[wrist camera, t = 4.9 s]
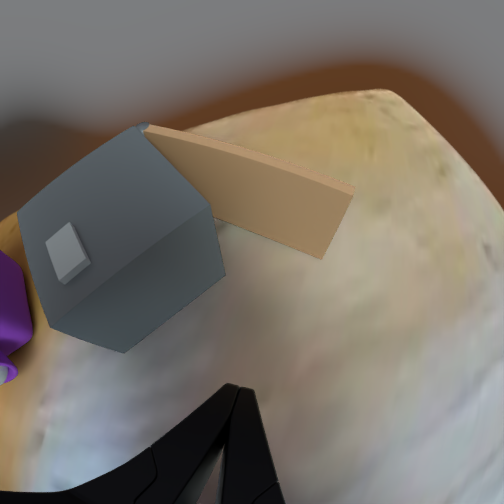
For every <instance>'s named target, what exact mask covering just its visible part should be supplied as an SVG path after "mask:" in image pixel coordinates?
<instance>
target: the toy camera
mask: <svg viewBox="0 0 504 504" xmlns="http://www.w3.org/2000/svg"><path fill="white" fill-rule="evenodd" d="M32 335H33V328H32V322H31V317H30V312H29V306H28V301H27V295H26V289H25V283H24V277H23V272H22V269H21V267H20V266H19V265H18V264H17V263H16V262H15V261H14V260H12V259H11V258H10V257H8V256H7V255H6V254H4V253H3V252H2V251H1V250H0V385H2V384H3V383H6V382H8V381H11V380H12V379H14V378H15V377H16V376H17V374H18V370H17V368H16V366H15V365H14V364H13V363H12V361H11V360H10V359H9V358H8V357H7V356H8V355H9V354H11V353H12V352H14V351H15V350H17V349H18V348H20V347H21V346H23V345H24V344H25V343H27V342H28V341H29V340H30V339H31V337H32Z"/></svg>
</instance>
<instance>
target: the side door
mask: <svg viewBox="0 0 504 504" xmlns="http://www.w3.org/2000/svg"><path fill="white" fill-rule="evenodd" d="M136 128H137V129H138V130H139V131H140V133H141V134H142V135H143V136H144V137H145V138H146V139H147V140H148V141H149V142H150V143H151V144H152V145H153V146H154V147H155V148H156V149H157V150H158V151H159V152H160V153H161V154H162V155H163V156H164V157H165V158H166V159H167V160H168V161H169V162H170V163H171V164H172V165H173V166H174V168H175V169H176V170H177V171H178V172H179V173H180V174H181V175H182V176H183V177H184V178H185V179H186V180H187V181H188V182H189V183H190V184H191V185H192V186H193V187H194V188H195V189H196V190H197V191H198V192H199V193H200V194H201V195H202V196H203V197H204V198H205V200H206V201H207V202H208V203H209V204H210V205H211V210H212V215H213V217H215V218H218V219H220V220H223V221H226V222H228V223H231V224H233V225H236V226H239V227H241V228H244V229H246V230H249V231H251V232H254V233H257V234H259V235H262V236H264V237H267V238H269V239H272V240H274V241H277V242H279V243H282V244H284V245H287V246H289V247H292V248H294V249H297V250H299V251H302V252H304V253H307V254H309V255H312V256H314V257H317V258H319V259H322V258H323V256H324V254H325V252H326V251H327V249H328V247H329V245H330V243H331V241H332V239H333V237H334V235H335V233H336V231H337V229H338V227H339V225H340V223H341V221H342V218H343V216H344V214H345V212H346V210H347V208H348V206H349V204H350V202H351V200H352V198H353V195H354V191H355V188H356V187H355V186H352V185H350V184H347V183H345V182H342V181H340V180H337V179H335V178H332V177H329V176H327V175H324V174H321V173H319V172H316V171H313V170H311V169H308V168H305V167H302V166H299V165H296V164H293V163H291V162H288V161H285V160H282V159H279V158H276V157H272V156H269V155H266V154H263V153H260V152H257V151H253V150H250V149H247V148H243V147H240V146H236V145H233V144H229V143H226V142H222V141H218V140H214V139H211V138H207V137H203V136H199V135H195V134H191V133H186V132H182V131H178V130H173V129H169V128H164V127H159V126H155V125H150V124H149V123H148V122H142V123H139V124H138V125H137V126H136Z"/></svg>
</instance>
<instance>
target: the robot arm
mask: <svg viewBox="0 0 504 504" xmlns="http://www.w3.org/2000/svg"><path fill="white" fill-rule="evenodd" d="M223 447H224V449H223ZM222 449H223V454H222V461H221V467H220V474H219V481H218V488H217V494H216V501H215V504H286V503H285V500H284V497H283V494H282V491H281V488H280V484H279V482H278V478H277V474H276V470H275V467H274V463H273V460H272V456H271V452H270V449H269V445H268V441H267V438H266V434H265V430H264V426H263V423H262V419H261V415H260V411H259V407H258V403H257V399H256V395H255V392H254V390H253V389H250V388H246V387H239V386H238V385H234V384H230V383H226V384H225V385H223V386H222V387H221V388H220V389H219V390H218V391H217V392H216V393H214V394H213V395H212V396H211V397H210V398H209V399H207V400H206V401H205V402H204V403H203V404H202V405H200V406H199V407H198V408H197V409H196V410H195V411H193V412H192V413H191V414H190V415H189V416H187V417H186V418H185V419H184V420H182V421H181V422H180V423H179V424H178V425H176V426H175V427H174V428H173V429H171V430H170V431H169V432H167V433H166V434H165V435H164V436H162V437H161V438H160V439H159V440H157V441H156V442H155V443H153V444H152V445H151V447H148V448H146V449H145V450H144V451H142V452H141V453H140V454H138V455H137V456H135V457H134V458H132V459H131V460H129V461H128V462H126V463H125V464H123V465H121V466H119V467H117V468H115V469H114V470H112V471H110V472H108V473H106V474H104V475H101V476H99V477H97V478H95V479H93V480H91V481H88V482H86V483H84V484H82V485H79V486H77V487H74V488H71V489H68V490H64V491H59V492H13V491H0V504H196V502H197V500H198V498H199V496H200V494H201V493H202V491H203V489H204V487H205V485H206V483H207V481H208V479H209V477H210V475H211V473H212V471H213V469H214V466H215V464H216V462H217V460H218V458H219V456H220V454H221V452H222Z"/></svg>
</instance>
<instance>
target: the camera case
mask: <svg viewBox="0 0 504 504" xmlns="http://www.w3.org/2000/svg"><path fill="white" fill-rule="evenodd" d="M17 217H18V222H19V227H20V232H21V236H22V241H23V245H24V249H25V253H26V257H27V261H28V264H29V268H30V271H31V275H32V278H33V281H34V284H35V287H36V290H37V293H38V296H39V299H40V302H41V305H42V308H43V310H44V313H45V316H46V318H47V321H48V323H49V326H50V328H53V329H55V330H58V331H60V332H63V333H65V334H68V335H70V336H73V337H76V338H78V339H81V340H84V341H87V342H90V343H92V344H95V345H98V346H101V347H104V348H107V349H111V350H114V351H117V352H120V353H125V352H126V351H128V350H129V349H130V348H132V347H133V346H134V345H136V344H137V343H138V342H139V341H141V340H142V339H143V338H145V337H146V336H147V335H149V334H150V333H151V332H152V331H154V330H155V329H156V328H158V327H159V326H160V325H162V324H163V323H164V322H165V321H167V320H168V319H169V318H171V317H172V316H173V315H174V314H176V313H177V312H178V311H180V310H181V309H182V308H184V307H185V306H186V305H187V304H189V303H190V302H191V301H193V300H194V299H195V298H197V297H198V296H199V295H200V294H202V293H203V292H204V291H206V290H207V289H208V288H209V287H211V286H212V285H213V284H215V283H216V282H217V281H219V280H220V279H221V278H222V277H224V276H225V275H226V274H225V270H224V266H223V261H222V257H221V252H220V248H219V243H218V238H217V234H216V229H215V224H214V220H213V215H212V210H211V205H210V204H209V203H208V202H207V201H206V200H205V198H204V197H203V196H202V195H201V194H200V193H199V192H198V191H197V190H196V189H195V188H194V187H193V186H192V185H191V184H190V183H189V182H188V181H187V180H186V179H185V178H184V177H183V176H182V175H181V174H180V173H179V172H178V171H177V170H176V169H175V168H174V166H173V165H172V164H171V163H170V162H169V161H168V160H167V159H166V158H165V157H164V156H163V155H162V154H161V153H160V152H159V151H158V150H157V149H156V148H155V147H154V146H153V145H152V144H151V143H150V142H149V141H148V140H147V139H146V138H145V137H144V136H143V135H142V134H141V133H140V131H139V130H138V129H137V128H136V127H135V126H133V127H130V128H129V129H127V130H125V131H124V132H122V133H121V134H119V135H117V136H116V137H114V138H112V139H111V140H109V141H108V142H106V143H105V144H103V145H102V146H100V147H99V148H97V149H96V150H94V151H93V152H91V153H90V154H88V155H87V156H85V157H84V158H83V159H81V160H80V161H79V162H77V163H76V164H74V165H73V166H72V167H70V168H69V169H68V170H66V171H65V172H64V173H62V174H61V175H60V176H59V177H57V178H56V179H55V180H54V181H52V182H51V183H50V184H49V185H47V186H46V187H45V188H44V189H43V190H41V191H40V192H39V193H38V194H37V195H35V196H34V197H33V198H32V199H31V200H30V201H29V202H28V203H26V204H25V205H24V206H23V207H22V208H21V209H20V210H19V211H18V212H17Z"/></svg>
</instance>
